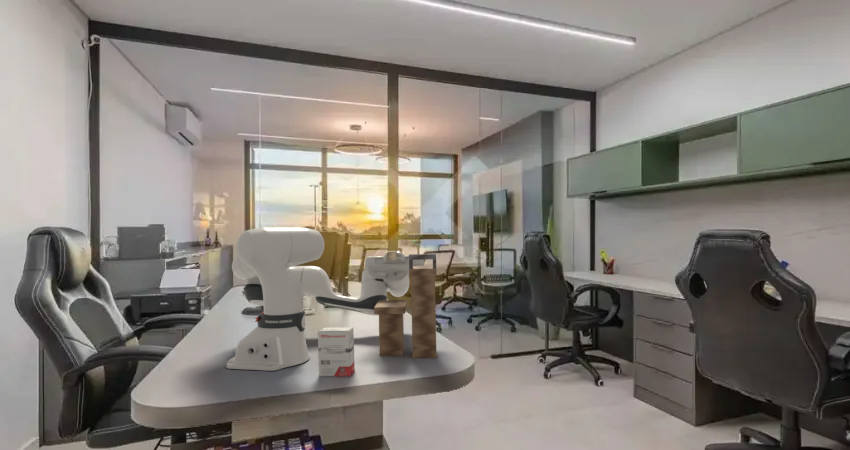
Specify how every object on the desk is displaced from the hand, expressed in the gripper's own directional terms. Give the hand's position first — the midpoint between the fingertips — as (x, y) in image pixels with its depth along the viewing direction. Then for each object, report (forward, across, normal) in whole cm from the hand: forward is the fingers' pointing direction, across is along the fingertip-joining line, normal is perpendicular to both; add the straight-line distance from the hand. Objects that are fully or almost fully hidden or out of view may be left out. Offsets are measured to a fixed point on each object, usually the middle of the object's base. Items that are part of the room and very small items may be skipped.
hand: (393, 254), depth 137 cm
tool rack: (-7, -4, -30) cm, 31 cm away
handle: (+3, 0, -3) cm, 4 cm away
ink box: (+9, +13, -40) cm, 43 cm away
